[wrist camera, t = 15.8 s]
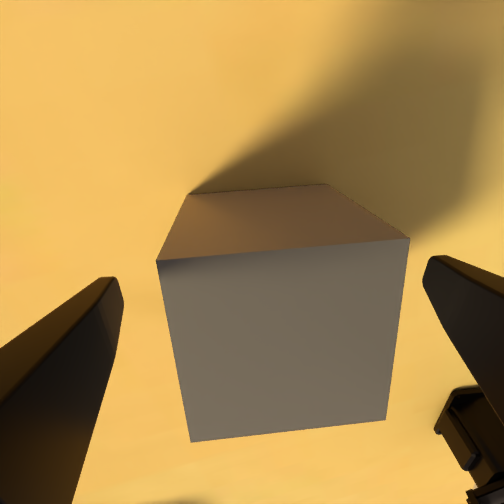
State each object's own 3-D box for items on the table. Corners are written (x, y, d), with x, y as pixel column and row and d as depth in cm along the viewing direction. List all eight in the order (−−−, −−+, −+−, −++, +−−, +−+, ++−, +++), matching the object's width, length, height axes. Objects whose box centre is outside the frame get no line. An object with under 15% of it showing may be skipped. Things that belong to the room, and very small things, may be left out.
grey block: (326, 183, 18) (409, 238, 10) (323, 303, 21) (385, 420, 13) (186, 194, 18) (156, 260, 10) (203, 314, 21) (190, 442, 13)
